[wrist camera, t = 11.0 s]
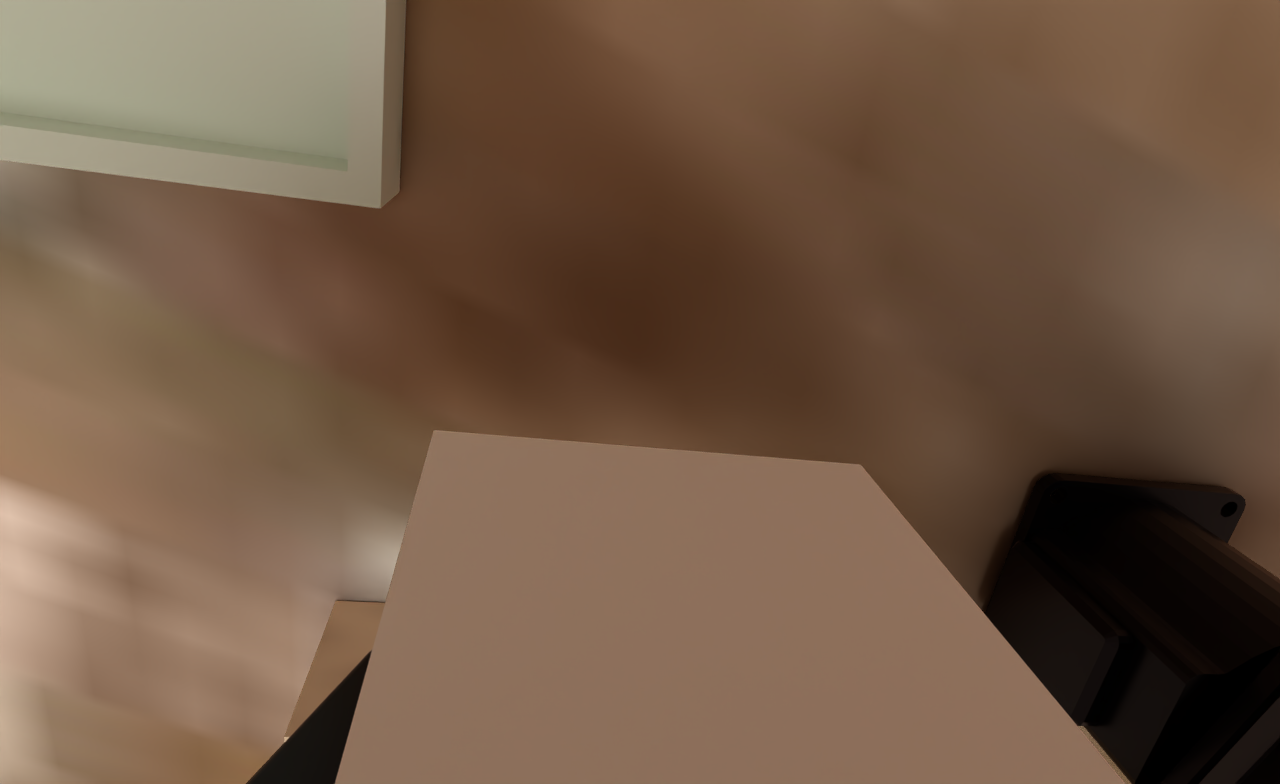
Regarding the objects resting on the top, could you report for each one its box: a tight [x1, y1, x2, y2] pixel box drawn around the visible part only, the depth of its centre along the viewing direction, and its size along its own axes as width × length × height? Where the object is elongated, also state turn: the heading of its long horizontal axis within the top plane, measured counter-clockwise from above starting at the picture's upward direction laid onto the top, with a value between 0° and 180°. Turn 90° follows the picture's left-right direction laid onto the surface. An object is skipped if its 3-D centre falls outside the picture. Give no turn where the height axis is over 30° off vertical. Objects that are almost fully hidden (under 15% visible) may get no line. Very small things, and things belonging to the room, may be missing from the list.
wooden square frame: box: [284, 601, 385, 742], centre depth 20 cm, size 8×8×4 cm
